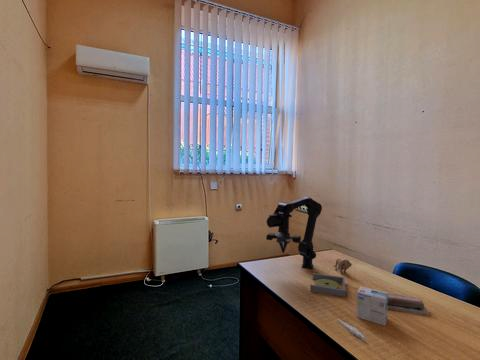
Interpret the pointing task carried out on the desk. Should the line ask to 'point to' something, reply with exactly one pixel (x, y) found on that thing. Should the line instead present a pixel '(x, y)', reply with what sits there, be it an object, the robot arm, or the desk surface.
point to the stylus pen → (352, 330)
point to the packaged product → (406, 304)
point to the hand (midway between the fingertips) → (283, 252)
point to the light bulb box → (372, 305)
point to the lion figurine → (342, 265)
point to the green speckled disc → (327, 283)
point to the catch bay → (326, 289)
